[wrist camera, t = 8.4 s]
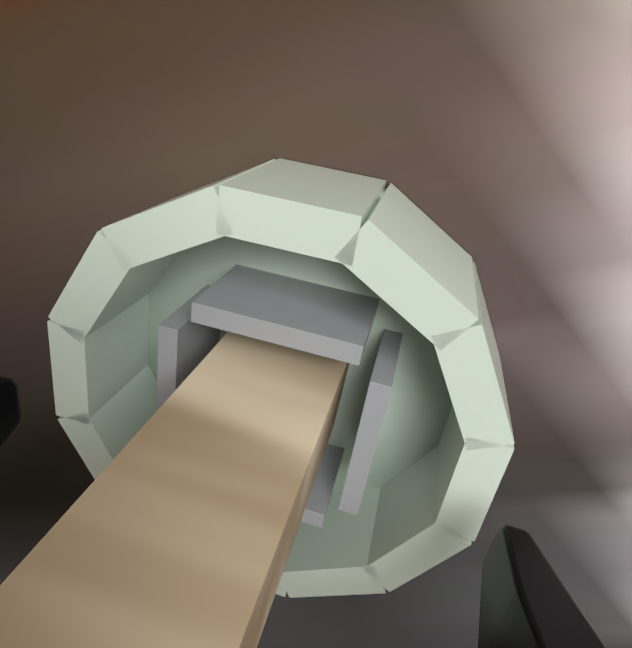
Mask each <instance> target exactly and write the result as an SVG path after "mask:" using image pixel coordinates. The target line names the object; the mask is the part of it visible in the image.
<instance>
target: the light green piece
mask: <svg viewBox="0 0 632 648" xmlns="http://www.w3.org/2000/svg"><path fill="white" fill-rule="evenodd" d="M385 184H386V180H381V179H377V178H372V177H367V176H362V175H357V174H353V173H348V172H343V171H338V170H333V169H328V168H324V167H319V166H314V165H309V164H304V163H300V162H295V161H290V160H285V159H280V158H279V159H277V160H275V159H273V160H270V161H268V162H265V163H263V164H260V165H257V166H255V167H252V168H250V169H247V170H244V171H242V172H239V173H237V174H234V175H231V176H229V177H226V178H224V179H221V180H218V181H216V182H213V183H211V184H208V185H206V186H203V187H200V188H198V189H195V190H193V191H190V192H187V193H185V194H183V195H180V196H178V197H175V198H173V199H170V200H168V201H166V202H163V203H161V204H158V205H156V206H154V207H151V208H149V209H146V210H144V211H142V212H139V213H137V214H134V215H132V216H130V217H127V218H125V219H122V220H120V221H117V222H115V223H113V224H110V225H108V226H105V227H103V228H101V229H102V230H100V231H97V233H96V235H95V237H94V238H93V240H92V242H91V243H90V245H89V247H88V249H87V250H86V252H85V254H84V256H83V257H82V259H81V261H80V262H79V264H78V266H77V268H76V269H75V271H74V273H73V275H72V276H71V278H70V280H69V281H68V283H67V285H66V287H65V288H64V290H63V292H62V294H61V295H60V297H59V299H58V301H57V302H56V304H55V306H54V307H53V309H52V311H51V313H50V314H49V316H48V317H49V318H50V320H49V321H47V324H48V335H49V346H50V357H51V367H52V378H53V389H54V399H55V410H56V415H57V416H61V417H59V418H58V421H59V423H60V424H61V426H62V427H63V429H64V431H65V432H66V434H67V435H68V437H69V439H70V440H71V442H72V444H73V445H74V447H75V448H76V450H77V452H78V453H79V455H80V457H81V458H82V460H83V461H84V463H85V465H86V466H87V468H88V469H89V471H90V473H91V474H92V476H93V478H94V479H96V478H97V477H98V476H99V475H100V474H101V473H102V472H103V470H104V469H105V468H106V467H107V466H108V465H109V464H110V463H111V462H112V460H113V459H114V458H115V457H116V456H117V455H118V454H119V453H120V452H121V450H122V449H123V448H124V447H125V446H126V445H127V444H128V443H129V442H130V440H131V439H132V438H133V437H134V436H135V435H136V434H137V433H138V431H139V430H140V429H141V428H142V427H143V426H144V425H145V424H146V423H147V421H148V420H149V419H150V418H151V417H152V416H153V415H154V414H155V413H156V411H157V410H158V409H159V408H160V407H161V406H162V405H163V404H164V403H165V401H166V400H167V399H168V398H169V397H170V396H171V395H172V394H173V393H174V391H175V390H176V389H177V388H178V387H179V386H180V385H181V384H182V383H183V381H184V380H185V379H186V378H187V377H188V376H189V375H190V374H191V373H192V371H193V370H194V369H195V368H196V367H197V366H198V365H199V364H200V363H201V361H202V360H203V359H204V358H205V357H206V356H207V355H208V354H209V353H210V351H211V350H212V349H213V348H214V347H215V346H216V345H217V344H218V342H219V341H220V340H221V339H222V338H223V337H224V336H225V335H226V334H227V332H228V331H229V332H232V333H236V334H240V335H244V336H248V337H251V338H255V339H259V340H263V341H267V342H271V343H274V344H278V345H282V346H286V347H290V348H293V349H297V350H301V351H305V352H309V353H313V354H316V355H320V356H324V357H328V358H332V359H335V360H339V361H343V362H347V363H349V367H348V371H347V375H346V379H345V383H344V387H343V391H342V395H341V399H340V403H339V407H338V410H337V414H336V418H335V422H334V426H333V429H332V432H331V435H330V438H329V441H328V444H327V447H326V449H325V452H324V455H323V458H322V461H321V464H320V467H319V470H318V473H317V475H316V478H315V481H314V484H313V487H312V490H311V493H310V496H309V499H308V501H307V504H306V507H305V510H304V513H303V516H302V519H301V522H300V525H299V527H298V530H297V533H296V536H295V539H294V542H293V545H292V548H291V551H290V553H289V556H288V559H287V562H286V565H285V568H284V571H283V574H282V577H281V579H280V582H279V585H278V588H277V591H276V594H277V595H280V596H283V597H285V596H286V593H287V594H288V596H289V598H295V597H316V596H338V595H359V594H380V593H386V589H387V590H388V591H389V592H391V591H393V590H394V589H396V588H398V587H399V586H401V585H403V584H405V583H406V582H408V581H410V580H411V579H413V578H415V577H417V576H418V575H420V574H422V573H424V572H425V571H427V570H429V569H430V568H432V567H434V566H436V565H437V564H439V563H441V562H442V561H444V560H446V559H448V558H449V557H451V556H453V555H455V554H456V553H458V552H460V551H461V550H463V549H465V548H467V547H468V546H470V545H471V541H475V539H476V537H477V534H478V532H479V530H480V527H481V525H482V523H483V520H484V518H485V516H486V514H487V511H488V509H489V507H490V504H491V502H492V500H493V497H494V495H495V493H496V490H497V488H498V486H499V483H500V481H501V479H502V476H503V474H504V472H505V470H506V467H507V465H508V463H509V460H510V458H511V456H512V453H513V451H514V444H515V443H514V437H513V431H512V425H511V419H510V414H509V408H508V402H507V396H506V390H505V385H504V379H503V373H502V367H501V361H500V356H499V352H498V348H497V344H496V341H495V337H494V333H493V329H492V326H491V322H490V318H489V314H488V311H487V307H486V303H485V299H484V296H483V292H482V288H481V284H480V281H479V277H478V273H477V269H476V266H475V262H472V257H471V256H470V255H469V254H468V253H467V252H466V251H464V250H463V249H462V248H461V247H460V246H459V245H458V244H457V243H456V242H455V241H454V240H453V239H451V238H450V237H449V236H448V235H447V234H446V233H445V232H444V231H443V230H442V229H441V228H439V227H438V226H437V225H436V224H435V223H434V222H433V221H432V220H431V219H430V218H429V217H427V216H426V215H425V214H424V213H423V212H422V211H421V210H420V209H419V208H418V207H417V206H416V205H414V204H413V203H412V202H411V201H410V200H409V199H408V198H407V197H406V196H405V195H404V194H402V193H401V192H400V191H399V190H398V189H397V188H396V187H395V186H394V185H393V184H392V183H390V185H389V186H388V187H387V188H385Z"/></svg>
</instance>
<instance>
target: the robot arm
mask: <svg viewBox="0 0 632 648" xmlns="http://www.w3.org/2000/svg"><path fill="white" fill-rule="evenodd" d="M20 416H21V412H20V404H19V396H18V389H17V384H16V383H15V381H14V380H12V379H11V378H7V377H4V376H1V375H0V447H1V445H2V444H3V443H4V442H5V440H6V439H7V438H8V437H9V435H10V434H11V433H12V432H13V431H14V429H15V428H16V427H17V425H18V423H19V420H20ZM478 648H606V646H605V645H604V643H603V642H602V641H601V639H600V638H599V636H598V635H597V633H596V632H595V630H594V629H593V627H592V626H591V624H590V623H589V621H588V620H587V618H586V617H585V615H584V614H583V612H582V611H581V610H580V608H579V607H578V605H577V604H576V602H575V601H574V599H573V598H572V596H571V595H570V593H569V592H568V590H567V589H566V587H565V586H564V584H563V583H562V581H561V580H560V579H559V577H558V576H557V574H556V573H555V571H554V570H553V568H552V567H551V565H550V564H549V562H548V561H547V559H546V558H545V556H544V555H543V553H542V552H541V550H540V549H539V547H538V546H537V545H536V543H535V542H534V540H533V539H532V537H531V536H530V534H529V533H527V532H526V531H524V530H521V529H518V528H514V527H511V526H508V525H502V526H500V527H499V529H498V530H497V532H496V534H495V537H494V539H493V541H492V543H491V545H490V548H489V550H488V552H487V554H486V556H485V559H484V563H483V569H482V583H481V601H480V620H479V639H478Z"/></svg>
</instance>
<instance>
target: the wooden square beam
mask: <svg viewBox="0 0 632 648" xmlns="http://www.w3.org/2000/svg"><path fill="white" fill-rule="evenodd" d="M348 367H349V363H347V362H343V361H339V360H335V359H332V358H328V357H324V356H320V355H316V354H313V353H309V352H305V351H301V350H297V349H293V348H290V347H286V346H282V345H278V344H274V343H271V342H267V341H263V340H259V339H255V338H251V337H248V336H244V335H240V334H236V333H232V332H229V331H228V332H227V334H226V335H225V336H224V337H223V338H222V339H221V340H220V341H219V342H218V344H217V345H216V346H215V347H214V348H213V349H212V350H211V351H210V353H209V354H208V355H207V356H206V357H205V358H204V359H203V360H202V361H201V363H200V364H199V365H198V366H197V367H196V368H195V369H194V370H193V371H192V373H191V374H190V375H189V376H188V377H187V378H186V379H185V380H184V381H183V383H182V384H181V385H180V386H179V387H178V388H177V389H176V390H175V391H174V393H173V394H172V395H171V396H170V397H169V398H168V399H167V400H166V401H165V403H164V404H163V405H162V406H161V407H160V408H159V409H158V410H157V411H156V413H155V414H154V415H153V416H152V417H151V418H150V419H149V420H148V421H147V423H146V424H145V425H144V426H143V427H142V428H141V429H140V430H139V431H138V433H137V434H136V435H135V436H134V437H133V438H132V439H131V440H130V442H129V443H128V444H127V445H126V446H125V447H124V448H123V449H122V450H121V452H120V453H119V454H118V455H117V456H116V457H115V458H114V459H113V460H112V462H111V463H110V464H109V465H108V466H107V467H106V468H105V469H104V470H103V472H102V473H101V474H100V475H99V476H98V477H97V478H96V479H95V480H94V482H93V483H92V484H91V485H90V486H89V487H88V488H87V489H86V490H85V492H84V493H83V494H82V495H81V496H80V497H79V498H78V499H77V500H76V502H75V503H74V504H73V505H72V506H71V507H70V508H69V509H68V510H67V512H66V513H65V514H64V515H63V516H62V517H61V518H60V519H59V520H58V522H57V523H56V524H55V525H54V526H53V527H52V528H51V529H50V531H49V532H48V533H47V534H46V535H45V536H44V537H43V538H42V539H41V541H40V542H39V543H38V544H37V545H36V546H35V547H34V548H33V549H32V551H31V552H30V553H29V554H28V555H27V556H26V557H25V558H24V559H23V561H22V562H21V563H20V564H19V565H18V566H17V567H16V568H15V569H14V571H13V572H12V573H11V574H10V575H9V576H8V577H7V578H6V579H5V581H4V582H3V583H2V584H1V585H0V648H257V646H258V643H259V640H260V637H261V634H262V631H263V629H264V626H265V623H266V620H267V617H268V614H269V611H270V608H271V605H272V603H273V600H274V597H275V594H276V591H277V588H278V585H279V582H280V579H281V577H282V574H283V571H284V568H285V565H286V562H287V559H288V556H289V553H290V551H291V548H292V545H293V542H294V539H295V536H296V533H297V530H298V527H299V525H300V522H301V519H302V516H303V513H304V510H305V507H306V504H307V501H308V499H309V496H310V493H311V490H312V487H313V484H314V481H315V478H316V475H317V473H318V470H319V467H320V464H321V461H322V458H323V455H324V452H325V449H326V447H327V444H328V441H329V438H330V435H331V432H332V429H333V426H334V422H335V418H336V414H337V410H338V407H339V403H340V399H341V395H342V391H343V387H344V383H345V379H346V375H347V371H348Z"/></svg>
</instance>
